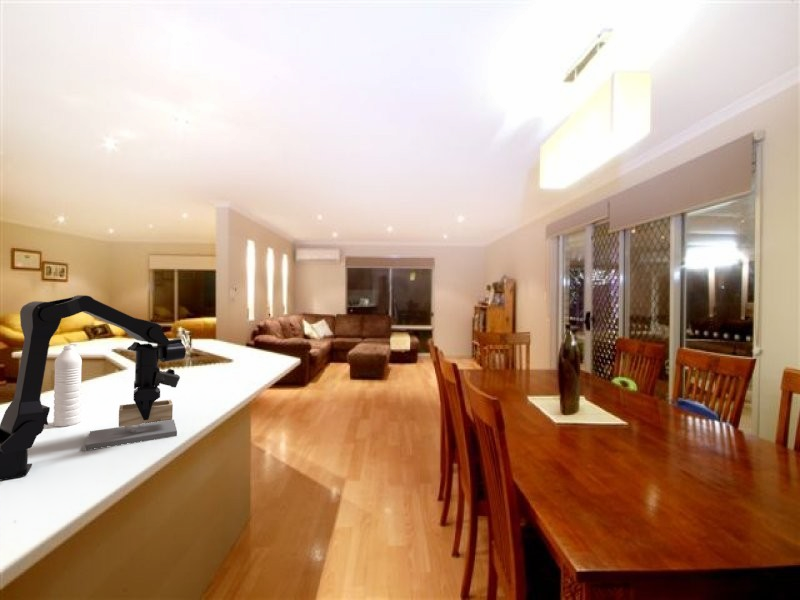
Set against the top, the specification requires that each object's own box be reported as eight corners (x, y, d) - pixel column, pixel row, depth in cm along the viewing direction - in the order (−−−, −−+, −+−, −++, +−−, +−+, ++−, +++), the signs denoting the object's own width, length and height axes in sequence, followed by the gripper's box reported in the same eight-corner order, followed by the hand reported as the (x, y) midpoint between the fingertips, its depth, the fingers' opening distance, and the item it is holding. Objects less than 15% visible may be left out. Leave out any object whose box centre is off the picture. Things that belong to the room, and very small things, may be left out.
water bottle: (75, 425, 119) (76, 345, 119) (49, 427, 117) (50, 346, 117) (87, 417, 128) (88, 342, 127) (62, 419, 125) (64, 342, 125)
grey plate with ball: (176, 435, 113) (177, 423, 113) (85, 450, 101) (85, 436, 101) (173, 424, 123) (173, 412, 123) (90, 436, 111) (90, 423, 111)
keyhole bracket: (172, 419, 115) (172, 404, 115) (118, 426, 107) (118, 411, 107) (170, 413, 120) (171, 399, 120) (119, 420, 113) (119, 405, 113)
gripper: (181, 367, 111) (179, 421, 111) (175, 358, 126) (174, 405, 126) (134, 370, 104) (132, 427, 104) (134, 360, 120) (133, 410, 120)
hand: (145, 416), depth 114 cm, fingers closed on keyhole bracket, 6 cm apart
